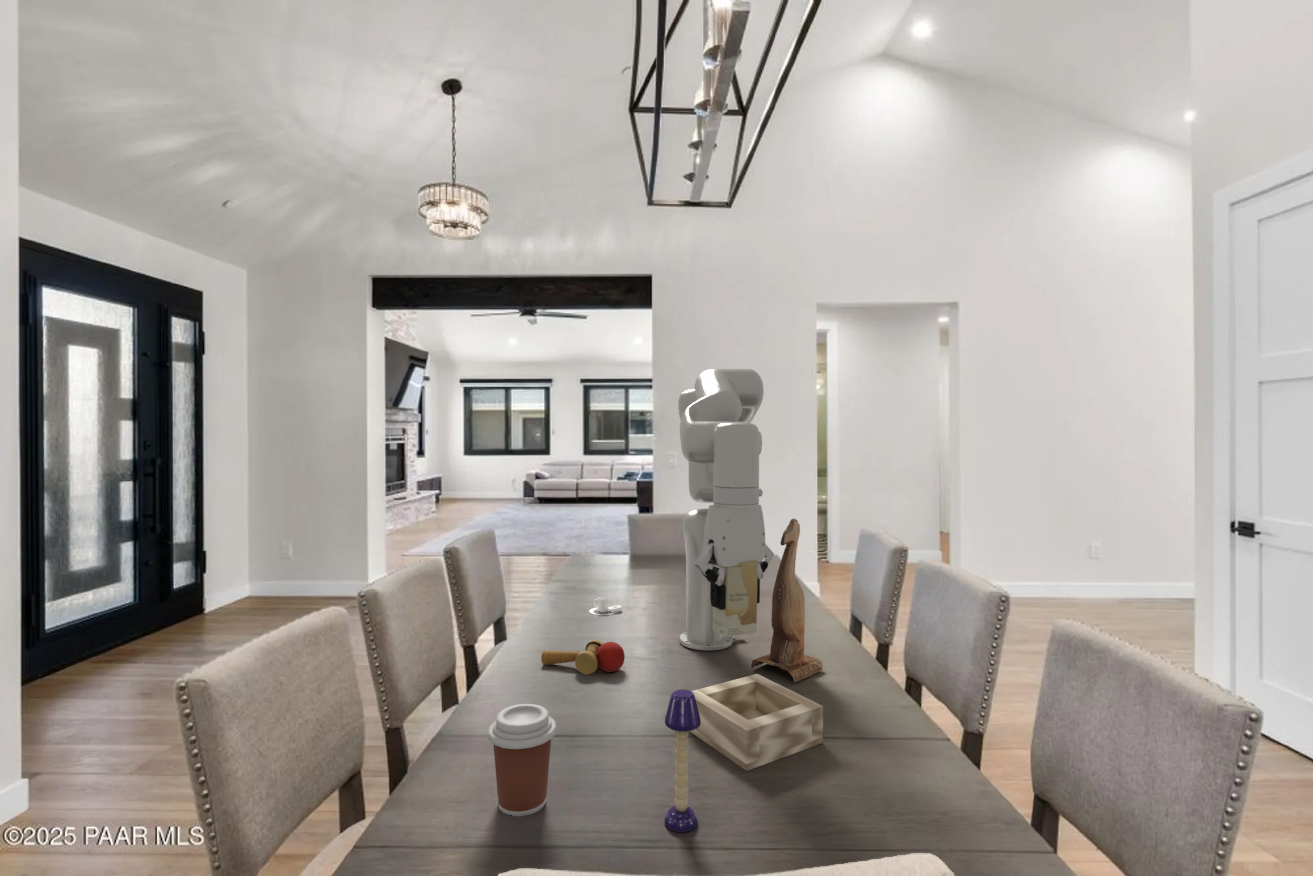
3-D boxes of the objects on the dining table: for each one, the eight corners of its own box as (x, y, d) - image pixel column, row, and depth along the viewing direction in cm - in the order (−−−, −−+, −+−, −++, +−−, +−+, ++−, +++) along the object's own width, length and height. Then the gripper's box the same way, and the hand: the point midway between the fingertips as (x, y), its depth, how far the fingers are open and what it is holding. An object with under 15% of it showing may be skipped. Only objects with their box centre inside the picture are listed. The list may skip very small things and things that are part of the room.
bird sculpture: (748, 671, 134) (749, 518, 134) (778, 656, 143) (779, 513, 142) (795, 686, 127) (796, 524, 126) (824, 669, 135) (825, 518, 135)
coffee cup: (560, 783, 92) (560, 699, 92) (551, 822, 83) (551, 729, 83) (495, 784, 92) (495, 700, 91) (480, 823, 83) (480, 730, 82)
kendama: (536, 678, 133) (619, 674, 129) (535, 647, 135) (616, 641, 131) (551, 671, 141) (630, 667, 137) (550, 642, 142) (627, 636, 138)
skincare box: (725, 638, 104) (726, 562, 103) (711, 630, 108) (712, 557, 107) (758, 632, 106) (759, 559, 106) (743, 625, 110) (744, 554, 110)
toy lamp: (662, 811, 85) (663, 686, 85) (697, 809, 86) (698, 685, 85) (666, 834, 80) (666, 701, 80) (703, 832, 81) (703, 700, 81)
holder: (756, 706, 117) (757, 673, 117) (822, 743, 104) (823, 706, 104) (684, 728, 109) (685, 692, 109) (746, 771, 95) (746, 730, 95)
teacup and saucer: (625, 612, 179) (625, 597, 178) (608, 619, 172) (608, 604, 172) (600, 607, 183) (600, 592, 183) (583, 613, 176) (583, 599, 176)
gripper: (761, 492, 114) (760, 592, 115) (679, 497, 105) (679, 606, 106) (790, 496, 108) (790, 602, 108) (706, 502, 99) (706, 618, 99)
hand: (735, 603), depth 107 cm, fingers closed on skincare box, 6 cm apart
